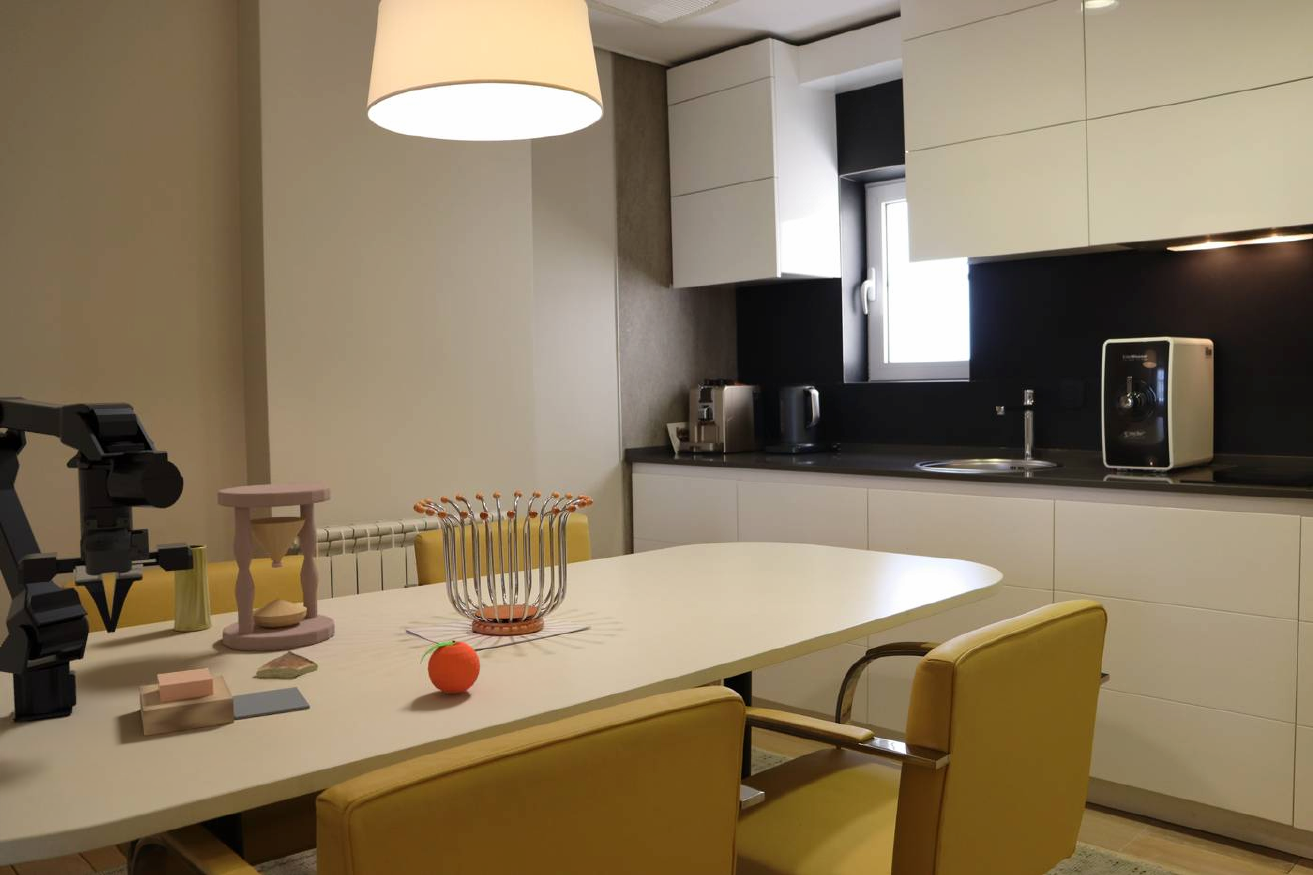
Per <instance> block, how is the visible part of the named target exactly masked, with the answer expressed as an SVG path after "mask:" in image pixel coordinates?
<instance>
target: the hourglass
mask: <svg viewBox="0 0 1313 875" xmlns="http://www.w3.org/2000/svg"><path fill="white" fill-rule="evenodd" d="M330 499H331V488H330V486H329V485H327V484H322V483H309V482H308V483H307V482H305V483H301V482H300V483H296V482H295V483H271V484H270V483H269V484H255V485H241V486H234V487H227V488H222V489H220V490H218V491H217V505H218V506H222V507H229V508H233V509H234V510H233V511H234V537H233V544H232V545H233V554H234V558H235V560H236V564H237V567H238V573H237V578H236V581H235V587H234V590H235V591H234V594H235V601H236V606H237V616H238V621H237V622H233V623H231V624H229V625H227V626H225V627H224V628H223V631H222V644H223V645H224V646H225V647H227V648H230V649H233V650H239V651H255V652H256V651H257V652H262V651H280V650H287V649H296V648H301V647H302V648H303V647H305V646H310V645H315V644H319V643H321V642H324V641H327V640H329V639H330V638H331V637H333V636H335V633H336V631H335V626H336V625H335V622H334V619H333V618H331V617H329V616H327V615H320V614H318V589H319V588H318V586H319V571H318V568H317V564H316V562H315V558H314V556H315V552H316V549H317V548H316V546H317V543H318V532H317V527H316V523H315V521H316V520H315V504H318V503H323V502H326V501H329V500H330ZM291 506H292V507H293V506H299V513H300V515H299V516H271V517H270V516H268V517H259V518H252V519H251V514H250V513H251V510H250V509H251V508H277V507H278V508H279V507H280V508H281V507H291ZM297 537H298V540H299V544H300V549H301V551H302V554H303V560H302V564H301V570H300V573H299V577H300V585H301V590H302V604H303V605H301V604H297V603H294V602H291V601H287V600H284V599H281V598H276V599H274V600H272V601H269V602H268V603H266V604H264V605H262V606H260V607H258V608H256V609H254V602H255V594H256V593H255V592H256V591H255V590H256V586H255V582H254V579H253V576H252V573H251V570H250V566H251V564H252V563H251V562H252V559H253V554H254V542H253V538H254V539H255V541H256V542H257V544H258V545H259V546H260V547H261V549H263V551H264V552H265V553H266V555H267V556H268V557H269V559H270V560H271V561H272V562H271V568H273V569H274V568H275V569H278V568H283V562H282V560H283V558H284V557H285V555H286V554H287V552H288V550H289V549H290V548H291V546H292V545H293V543H294V542H295V540H296V539H297Z"/></svg>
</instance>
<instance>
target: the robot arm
mask: <svg viewBox="0 0 1313 875" xmlns="http://www.w3.org/2000/svg"><path fill="white" fill-rule="evenodd" d="M0 429H6V430H5V432H3V431H0V573H1V575H2V577H3V580H4V583H5V585H6V587H7V591H8V593H9V595H10V599H11V602H10V606H9V610H8V613H7V617H6V620H5V625H6V628H7V632H8V634H7V636H6V638H5V639H4V641H3V642H2V644H1V645H0V672H1V673H6V674H7V673H8V674H12V683H13V684H12V685H13V686H12V689H13V705H14V706H13V707H14V709H13V710H14V712H13V715H12V716H13V717H12V722H14V723H17V722H24V721H32V720H38V719H39V720H40V719H45V718H46V719H47V718H53V717H59V716H66V715H71V714H73V709H74V708H73V707H76V706H77V702H78V701H77V700H78V698H77V678H76V677H77V675H76V671H75V670H74V669H72V670H71V662H73V661H78V660H83V659H84V656H85V652H86V646H87V642H88V639H89V638H88V637H89V633H90V624H89V621H88V618H87V617H86V616H88V615H89V614H88V612H87V610H86V609H85V607H84V605H83V604H82V601H81V599H80V595H79V592H78V590H77V589H76V588H74V587H66V588H62V587H60V585H58V584H56V583H55V582H54V577H56V576H57V575H60V574H62V575H63V574H72V573H73V576H74V586H76V587H84V588H85V589H86V590H87V591H88V594H89V595H90V597H91V598H92V599H93V602H94V604H95V606H96V608H97V610H98V613H99V616H100V618H101V620H102V622H103V626H104V627H105V630H106V632H107V634H111V633H112V634H113V633H115V632H116V630H117V627H118V623H119V620H120V616H121V613H122V610H123V606H124V603H125V600H126V598H127V596H128V593H129V592H130V589H131V588H132V586H133V584H134V583H135V582H140V581H143V579H144V577H143V572H142V571H143V570H144V567H146V568H147V567H155V566H159V567H160V569H162V570H164V571H165V572H174V571H179V570H190V569H194V567H193V551H192V549H191V547H190V546H189V545H190V544H187V543H186V542H173V543H172V542H171V543H159V544H156V545H155V548H156V549H155V550H153V551H151V550H150V540H149V528H140V529H134V515H133V508H144V509H167V508H170V507H172V506H174V504H176V503H177V501H178V500H179V499H180V497H181V496H182V494H183V491H184V477H183V476H182V473H181V471H180V470H179V468H178V467H177V466H176V465H175V463H173V462H172V461H169V458H168V456H169V454H168V451H167V450H157V449H156V447H155V446H154V444H155V443H154V441H153V440H152V438H151V437H150V436H149V435H148V433H147V431H146V429H145V427H144V426H143V424H142V421H141V420H140V418H139V416H138V415H137V414H136V412H135V411H134V406H132V405H131V404H130V403H127V402H125V401H124V402H90V403H89V402H88V403H86V402H85V403H84V402H83V403H79V402H78V403H72V404H63V403H62V404H61V403H56V402H55V403H54V402H49V401H48V402H47V401H40V400H34V399H33V400H32V399H28V398H24V397H22V396H0ZM26 433H32V434H33V433H34V434H40V435H45V436H51V437H56V438H58V439H59V442H60V443H61V444H63V445H65V446H67V447H70V448H72V449H74V450H76V451H77V452H76V453H75V455H73V457H71V458H70V459H69V460H68V461H67V462H66V467H67V468H68V469H77V479H78V480H77V481H78V502H79V524H80V525H79V528H80V531H79V532H80V541H79V550H80V552H79V553H80V556H77V557H76V556H75V557H74V556H73V557H63V558H62V557H61V558H59V557H58V556H59V555H58V552H57V551H53V552H42V551H41V548H40V546H39V544H38V541H37V539H36V536H35V534H34V531H33V528H32V527H31V525H30V522H29V518H28V516H27V514H26V512H25V510H24V506H23V505H22V502H21V500H20V497H19V495H18V493H17V490H16V487H15V484H16V481H17V477H18V472H19V470H20V465H21V464H20V461H19V457H18V456H19V455H20V454H21V452H22V451H23V449H24V448H25V447H26V446H27V438H26ZM110 573H111V574H112V573H114V581H113V592H112V602H111V612H110V609H109V608H110V607H109V604H108V600H107V599H108V598H107V592H106V589H105V588H106V587H105V582H104V579H103V578H104V577H103V576H104V575H103V574H110Z"/></svg>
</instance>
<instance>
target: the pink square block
mask: <svg viewBox="0 0 1313 875" xmlns="http://www.w3.org/2000/svg"><path fill="white" fill-rule="evenodd" d="M156 675H157V676H156V677H157V678H156V679H157V684H158V693H159V697H160V702H164V701H171V700H178V699H185V698H192V697H199V696H206V695H213V678H212V677H213V676H212V674H211V671H210V669H209V668H208V667H206V668H205V667H204V668H196V669H191V670H183V671H174V672H166V673H158V674H156Z"/></svg>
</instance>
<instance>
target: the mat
mask: <svg viewBox="0 0 1313 875" xmlns="http://www.w3.org/2000/svg"><path fill="white" fill-rule="evenodd" d="M232 697H233V707H234V720H241V719H246V718H247V719H248V718H254V717H261V716H268V715H273V714H279V713H287V712H294V711H299V710H306V709H310V708H311V705H310V703H309V702H308V701H307V699H306V698H305V696H304V695H303V694H302V692H301V691H300V690H299V688H298V687H297V686H294V687H288V688H279V689H274V690H266V691H259V692H254V693H253V692H251V693H245V694H238V695H237V694H236V695H232Z"/></svg>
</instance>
